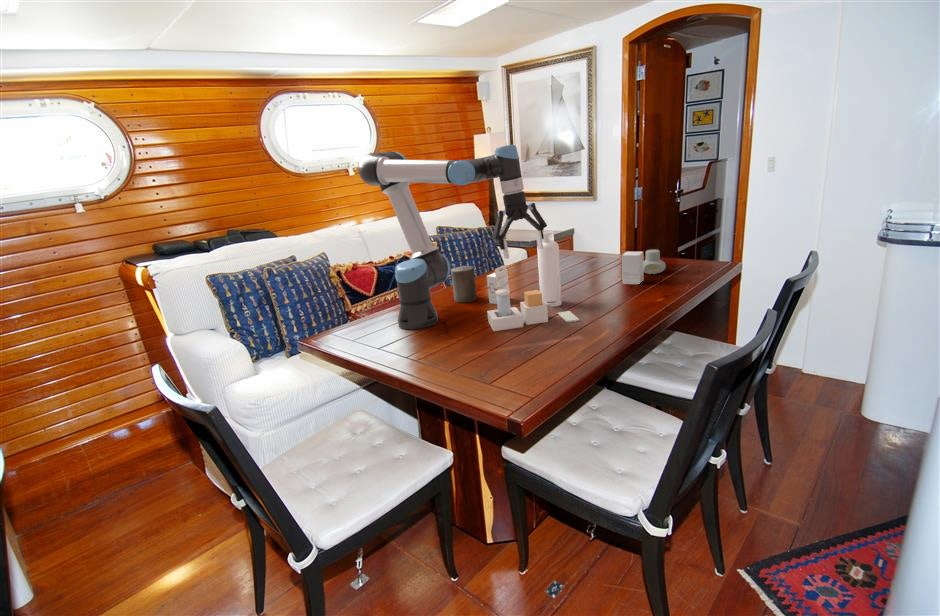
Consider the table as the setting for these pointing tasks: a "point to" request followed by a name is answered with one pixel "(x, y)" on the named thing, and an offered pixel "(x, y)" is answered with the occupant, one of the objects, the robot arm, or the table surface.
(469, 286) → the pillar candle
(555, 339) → the table surface
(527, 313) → the white compartment holder
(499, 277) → the ink cartridge box
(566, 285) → the table surface
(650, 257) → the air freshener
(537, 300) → the plunger
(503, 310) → the grey rounded cylinder
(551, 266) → the bottle
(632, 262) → the supplement box
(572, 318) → the rubber mat
